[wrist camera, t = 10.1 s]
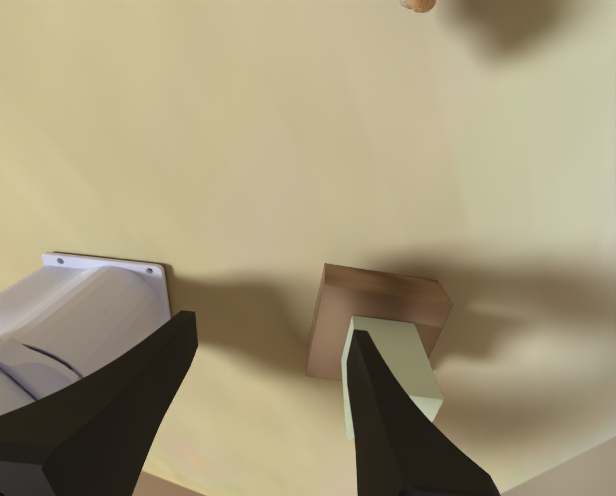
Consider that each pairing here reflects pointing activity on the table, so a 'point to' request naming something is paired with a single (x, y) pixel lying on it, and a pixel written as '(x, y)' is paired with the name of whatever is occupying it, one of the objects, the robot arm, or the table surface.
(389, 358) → the sage block
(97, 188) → the table surface
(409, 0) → the lion figurine
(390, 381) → the robot arm
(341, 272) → the walnut block
